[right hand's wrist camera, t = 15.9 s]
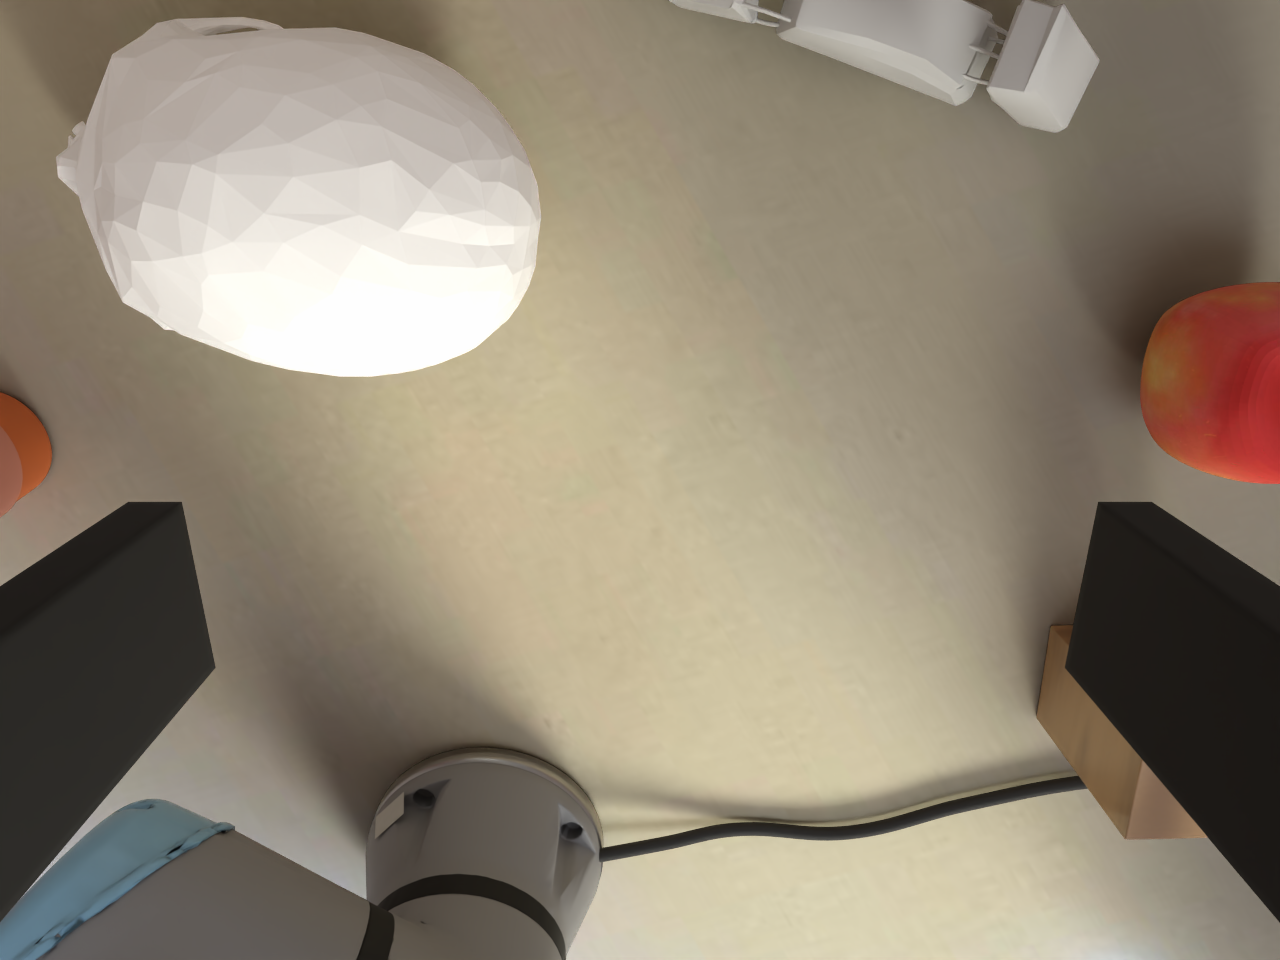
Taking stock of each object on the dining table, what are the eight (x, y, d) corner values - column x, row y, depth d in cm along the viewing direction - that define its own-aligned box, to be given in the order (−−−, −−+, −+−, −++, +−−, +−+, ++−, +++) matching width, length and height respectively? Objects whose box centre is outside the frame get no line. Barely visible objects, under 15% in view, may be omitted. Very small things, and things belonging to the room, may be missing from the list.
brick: (1145, 622, 51) (1266, 729, 41) (1127, 715, 53) (1237, 837, 44) (1050, 625, 51) (1147, 732, 41) (1035, 718, 53) (1124, 840, 44)
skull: (91, 17, 39) (-234, -54, 25) (561, 67, 40) (517, 28, 26) (128, 303, 44) (-124, 385, 30) (545, 342, 45) (501, 441, 31)
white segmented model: (1087, 57, 40) (1158, 29, 33) (1051, 139, 41) (1113, 127, 35) (682, -76, 40) (676, -132, 33) (658, 10, 41) (647, -27, 34)
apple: (1203, 469, 47) (1342, 543, 38) (1060, 400, 46) (1169, 459, 37) (1317, 311, 44) (1499, 349, 35) (1168, 233, 43) (1316, 251, 34)
